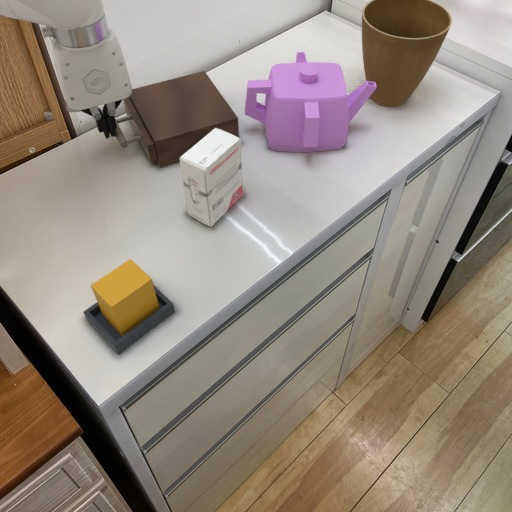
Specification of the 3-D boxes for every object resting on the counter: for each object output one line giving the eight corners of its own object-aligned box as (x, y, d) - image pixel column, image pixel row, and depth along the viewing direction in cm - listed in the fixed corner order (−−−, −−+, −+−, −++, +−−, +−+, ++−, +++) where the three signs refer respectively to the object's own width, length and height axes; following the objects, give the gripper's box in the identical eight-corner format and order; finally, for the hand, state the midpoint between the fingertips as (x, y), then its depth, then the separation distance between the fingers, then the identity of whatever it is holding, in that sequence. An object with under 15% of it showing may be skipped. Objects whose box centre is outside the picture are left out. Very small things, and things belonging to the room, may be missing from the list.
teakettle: (237, 132, 95) (235, 70, 86) (298, 91, 103) (302, 30, 94) (312, 176, 88) (318, 113, 78) (371, 128, 96) (383, 66, 86)
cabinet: (159, 167, 90) (154, 141, 85) (133, 116, 99) (127, 90, 94) (239, 144, 93) (238, 117, 89) (206, 96, 102) (204, 70, 98)
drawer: (128, 170, 88) (123, 152, 85) (105, 121, 96) (101, 103, 93) (225, 141, 92) (224, 123, 89) (196, 97, 101) (194, 79, 98)
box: (123, 337, 68) (111, 307, 63) (103, 316, 70) (90, 285, 65) (160, 310, 71) (151, 278, 66) (140, 290, 73) (130, 258, 68)
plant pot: (334, 99, 102) (345, 17, 89) (377, 66, 109) (392, -14, 96) (402, 130, 95) (424, 47, 83) (442, 93, 102) (468, 11, 90)
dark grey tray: (118, 354, 67) (114, 346, 66) (86, 320, 71) (82, 311, 69) (175, 311, 71) (173, 303, 70) (142, 280, 75) (140, 272, 73)
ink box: (220, 183, 87) (216, 124, 78) (244, 195, 85) (243, 136, 76) (186, 215, 83) (177, 156, 73) (211, 228, 81) (205, 170, 72)
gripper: (31, 53, 71) (69, 158, 86) (139, 28, 75) (158, 133, 89) (22, 27, 76) (59, 132, 90) (124, 5, 80) (144, 109, 94)
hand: (108, 132), depth 90 cm, fingers closed
